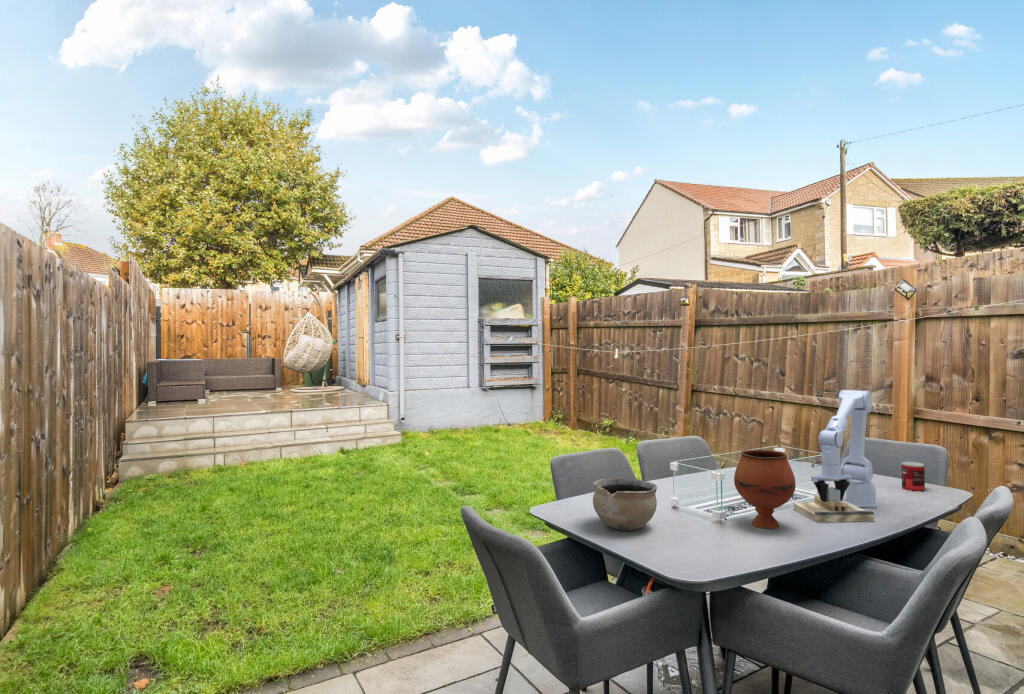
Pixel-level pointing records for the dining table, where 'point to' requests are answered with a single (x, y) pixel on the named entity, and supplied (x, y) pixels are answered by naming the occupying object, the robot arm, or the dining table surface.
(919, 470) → the canned food
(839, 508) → the pallet
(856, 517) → the dock
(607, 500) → the ceramic bowl
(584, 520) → the dining table surface
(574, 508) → the dining table surface
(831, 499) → the pale grey cube
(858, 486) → the robot arm
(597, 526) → the dining table surface
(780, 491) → the goblet
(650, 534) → the dining table surface
